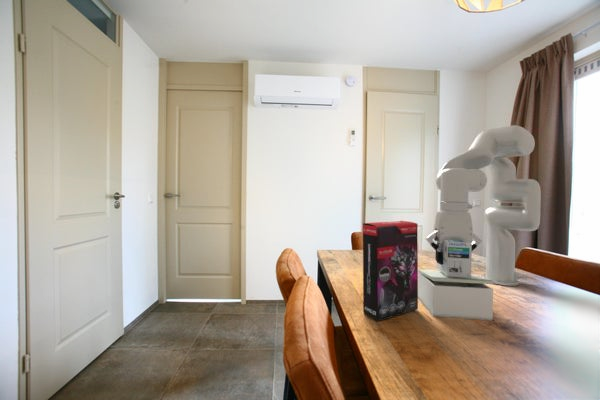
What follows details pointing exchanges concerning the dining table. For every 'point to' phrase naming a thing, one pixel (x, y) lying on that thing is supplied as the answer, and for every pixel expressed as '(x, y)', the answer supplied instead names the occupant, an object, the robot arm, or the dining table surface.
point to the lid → (440, 276)
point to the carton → (456, 299)
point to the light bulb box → (456, 258)
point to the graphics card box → (390, 268)
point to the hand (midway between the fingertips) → (452, 263)
